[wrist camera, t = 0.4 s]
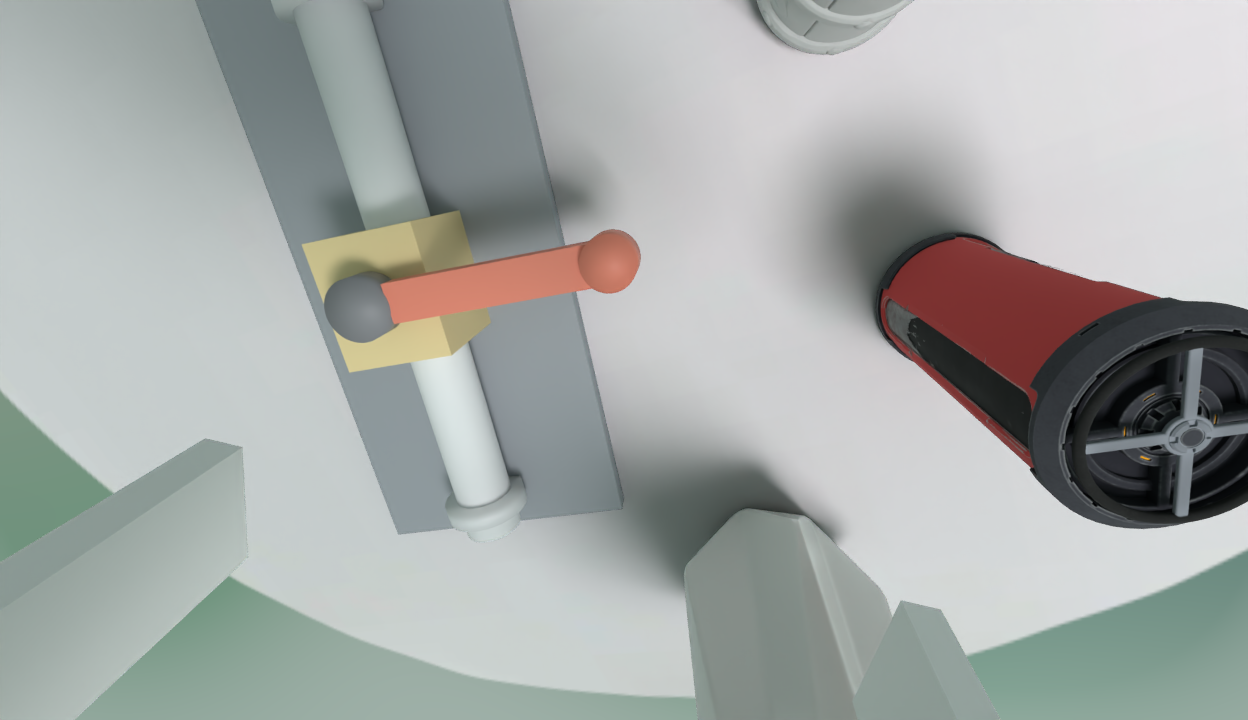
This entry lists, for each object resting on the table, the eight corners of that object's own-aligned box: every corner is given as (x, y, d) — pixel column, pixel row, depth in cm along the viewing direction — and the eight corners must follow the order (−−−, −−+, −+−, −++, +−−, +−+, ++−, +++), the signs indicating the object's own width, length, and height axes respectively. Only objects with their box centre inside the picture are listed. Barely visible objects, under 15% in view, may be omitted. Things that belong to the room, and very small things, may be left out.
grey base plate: (206, -11, 33) (71, -58, 25) (486, -96, 30) (422, -175, 23) (405, 524, 44) (350, 596, 36) (623, 499, 41) (610, 571, 34)
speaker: (867, 247, 33) (1050, 339, 16) (1011, 219, 32) (1369, 287, 15) (879, 369, 36) (1049, 559, 19) (1013, 347, 34) (1326, 530, 18)
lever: (358, 336, 30) (336, 348, 28) (337, 277, 29) (313, 285, 27) (646, 285, 28) (643, 294, 26) (633, 218, 27) (629, 222, 25)
